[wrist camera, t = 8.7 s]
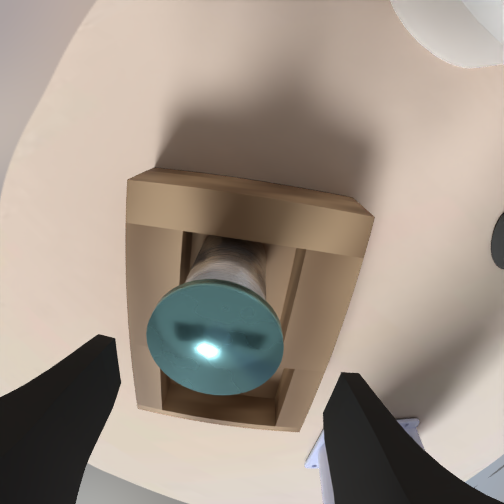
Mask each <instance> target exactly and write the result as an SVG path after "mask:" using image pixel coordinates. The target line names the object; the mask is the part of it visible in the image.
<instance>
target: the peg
mask: <svg viewBox="0 0 504 504" xmlns="http://www.w3.org/2000/svg"><path fill="white" fill-rule="evenodd" d="M146 338H147V344H148V348H149V351H150V354H151V356H152V358H153V359H154V361H155V362H156V364H157V365H158V367H159V368H160V369H161V370H162V371H163V372H164V373H165V374H166V375H167V376H169V377H170V378H171V379H172V380H174V381H175V382H177V383H179V384H180V385H182V386H184V387H186V388H189V389H191V390H194V391H197V392H201V393H205V394H211V395H234V394H240V393H244V392H247V391H250V390H253V389H255V388H257V387H259V386H260V385H262V384H264V383H265V382H266V381H267V380H269V379H270V378H271V377H272V376H273V374H274V373H275V372H276V371H277V369H278V367H279V365H280V363H281V361H282V357H283V350H284V344H283V333H282V327H281V323H280V320H279V318H278V316H277V314H276V313H275V311H274V310H273V308H272V307H271V306H270V305H269V303H268V302H267V301H266V254H265V249H264V247H263V244H262V243H261V242H255V241H248V240H242V239H235V238H228V237H222V236H215V235H209V236H208V237H207V238H206V240H205V241H204V243H203V245H202V247H201V249H200V251H199V253H198V255H197V257H196V259H195V262H194V264H193V266H192V268H191V270H190V272H189V274H188V276H187V279H186V281H185V283H184V284H181V285H179V286H177V287H175V288H173V289H172V290H170V291H169V292H168V293H166V294H165V295H164V296H163V297H162V298H161V300H160V301H159V302H158V304H157V306H156V307H155V309H154V311H153V313H152V315H151V317H150V319H149V322H148V325H147V332H146Z"/></svg>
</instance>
